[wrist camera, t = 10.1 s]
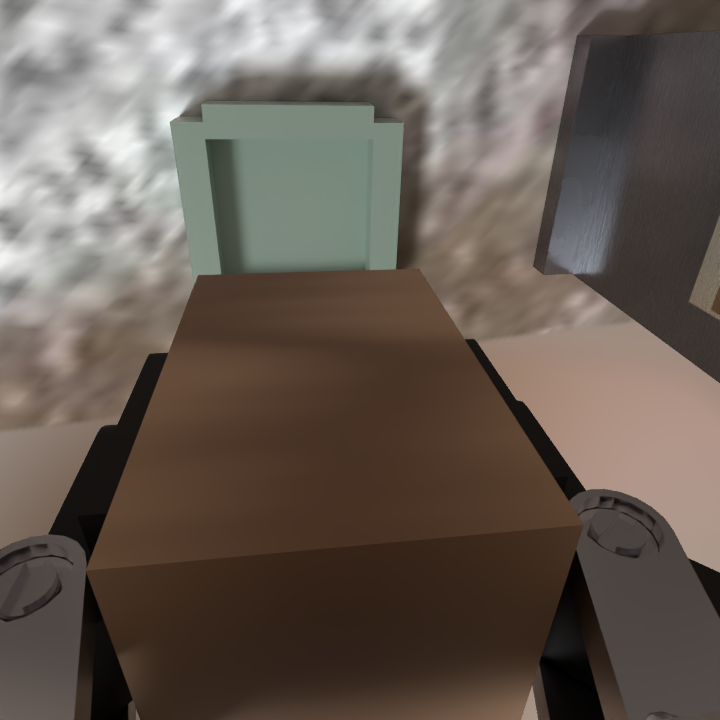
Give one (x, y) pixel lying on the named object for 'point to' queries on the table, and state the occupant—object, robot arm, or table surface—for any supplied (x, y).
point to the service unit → (642, 184)
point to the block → (329, 514)
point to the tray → (289, 186)
